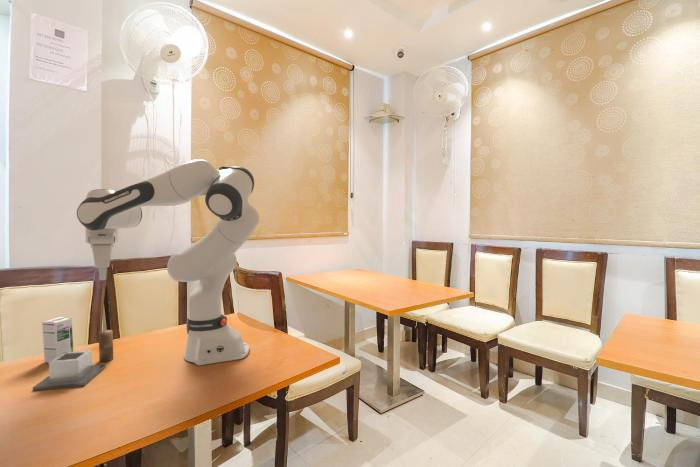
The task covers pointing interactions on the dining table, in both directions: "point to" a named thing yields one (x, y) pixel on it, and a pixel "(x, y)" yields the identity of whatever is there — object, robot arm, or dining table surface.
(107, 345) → the walnut peg
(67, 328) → the syrup box
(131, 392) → the dining table surface
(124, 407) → the dining table surface
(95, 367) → the square collar
